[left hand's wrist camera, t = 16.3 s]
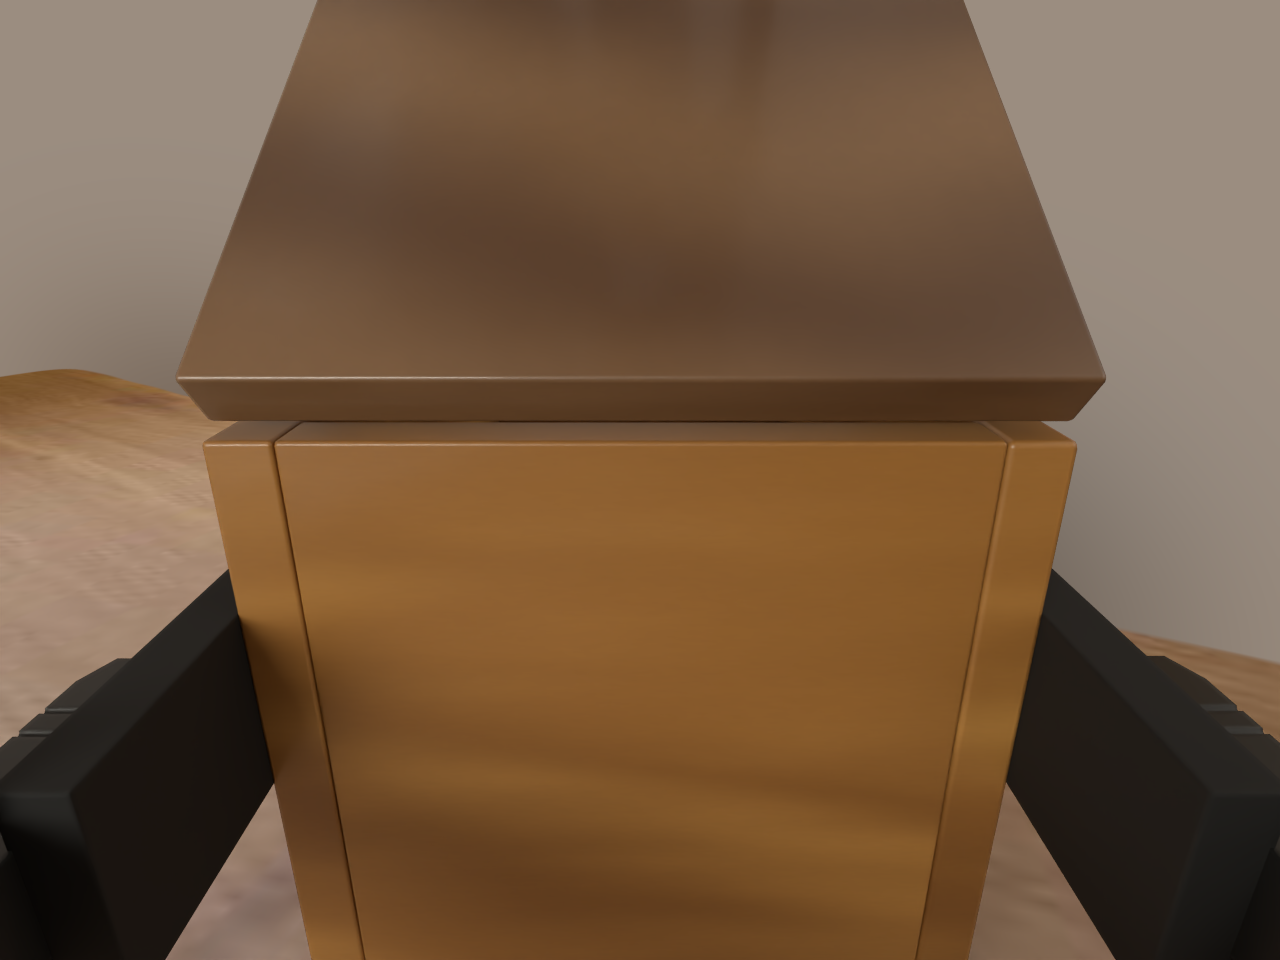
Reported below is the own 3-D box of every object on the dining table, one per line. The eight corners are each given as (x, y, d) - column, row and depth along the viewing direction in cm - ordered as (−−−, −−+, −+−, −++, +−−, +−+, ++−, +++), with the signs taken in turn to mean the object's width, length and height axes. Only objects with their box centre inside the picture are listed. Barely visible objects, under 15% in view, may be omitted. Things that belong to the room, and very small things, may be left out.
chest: (490, 595, 27) (466, 286, 23) (788, 595, 27) (813, 286, 23) (326, 1046, 13) (197, 442, 9) (953, 1046, 13) (1083, 442, 9)
